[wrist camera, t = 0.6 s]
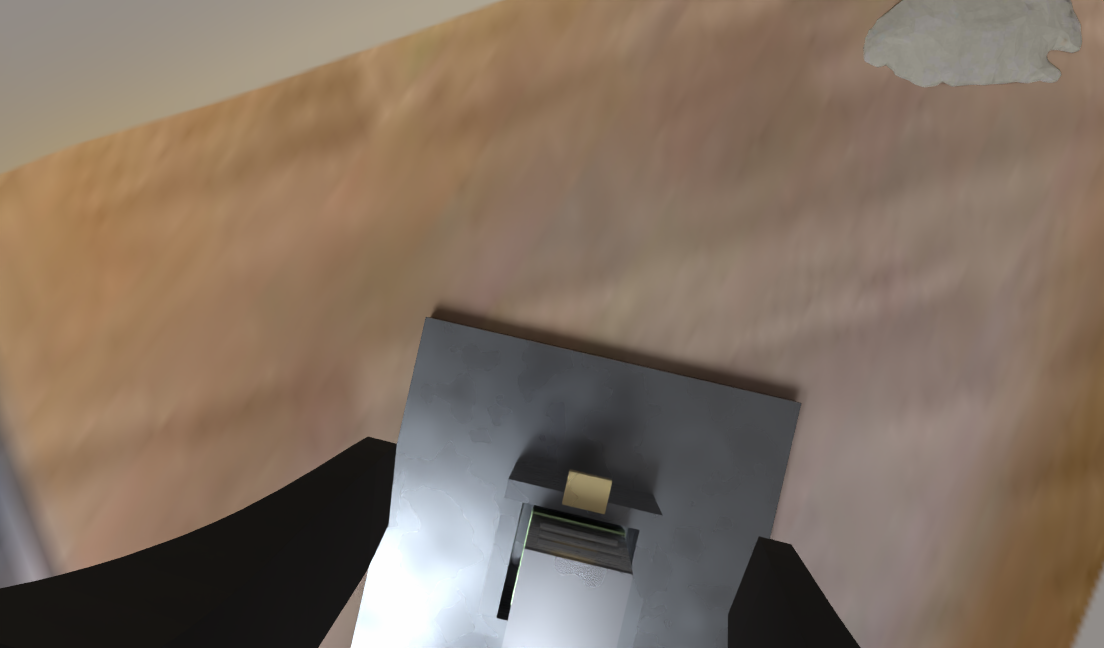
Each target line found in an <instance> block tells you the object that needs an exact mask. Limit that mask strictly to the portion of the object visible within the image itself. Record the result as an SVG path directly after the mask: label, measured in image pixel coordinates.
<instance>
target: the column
mask: <svg viewBox="0 0 1104 648" xmlns="http://www.w3.org/2000/svg"><path fill="white" fill-rule="evenodd" d="M625 534H626V533H625V529H623V527H622V526H621V525H617V524H612V523H608V522H604V521H600V520H596V519H592V518H587V517H583V516H579V515H575V514H571V513H566V512H562V511H558V510H554V509H550V508H546V507H541V506H537V505H534V507H533V508H532V512H531V517H530V521H529V526H528V530H527V534H526V539H525V543H524V547H523V552H522V556H521V561H520V565H519V569H518V574H517V578H516V582H515V587H514V591H513V596H512V600H511V609H510V613H509V617H508V622H507V626H506V630H505V635H504V639H503V644H502V648H617V644H618V639H619V635H620V631H621V626H622V622H623V618H624V613H625V609H626V605H627V600H628V596H629V592H630V587H631V583H632V579H633V571H632V567H631V562H630V558H629V553H628V549H627V545H626V540H625Z"/></svg>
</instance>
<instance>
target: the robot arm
mask: <svg viewBox="0 0 1104 648" xmlns="http://www.w3.org/2000/svg"><path fill="white" fill-rule="evenodd" d="M396 448H397V444H395V443H391V442H387V441H383V440H379V439H375V438H371V437H366V438H365V439H363V440H361V441H360V442H358V443H356V444H354V445H353V446H351V447H349V448H348V449H346V450H345V451H343V452H341V453H340V454H338V455H337V456H335V457H333V458H332V459H330V460H329V461H327V462H325V463H324V464H322V465H320V466H319V467H317V468H316V469H314V470H312V471H311V472H309V473H307V474H305V475H304V476H302V477H300V478H299V479H297V480H295V481H293V482H292V483H290V484H288V485H287V486H285V487H283V488H281V489H280V490H278V491H276V492H274V493H272V494H270V495H268V496H267V497H265V498H263V499H261V500H259V501H257V502H255V503H253V504H251V505H249V506H248V507H246V508H244V509H242V510H240V511H238V512H236V513H234V514H231V515H229V516H227V517H225V518H223V519H221V520H218V521H216V522H214V523H212V524H209V525H207V526H204V527H202V528H200V529H197V530H195V531H193V532H190V533H188V534H185V535H183V536H180V537H178V538H175V539H172V540H169V541H167V542H164V543H161V544H158V545H155V546H152V547H150V548H147V549H144V550H141V551H138V552H136V553H133V554H130V555H127V556H124V557H121V558H118V559H115V560H111V561H108V562H105V563H101V564H98V565H94V566H91V567H88V568H84V569H80V570H77V571H73V572H69V573H65V574H62V575H58V576H54V577H50V578H46V579H42V580H38V581H33V582H29V583H24V584H19V585H15V586H10V587H5V588H1V589H0V648H318V647H319V645H320V644H321V642H322V641H323V639H324V638H325V636H326V634H327V633H328V631H329V630H330V628H331V627H332V625H333V623H334V622H335V620H336V619H337V617H338V616H339V614H340V612H341V611H342V609H343V608H344V606H345V605H346V603H347V601H348V600H349V598H350V597H351V595H352V594H353V592H354V590H355V589H356V587H357V586H358V584H359V582H360V581H361V579H362V578H363V576H364V574H365V573H366V571H367V569H368V567H369V565H370V563H371V561H372V559H373V557H374V555H375V553H376V551H377V549H378V547H379V545H380V542H381V540H382V538H383V536H384V534H385V532H386V529H387V527H388V525H389V517H390V507H391V497H392V487H393V477H394V468H395V458H396ZM728 648H860V646H859V645H858V644H857V642H856V641H855V639H854V638H853V637H852V635H851V634H850V632H849V631H848V630H847V628H846V627H845V625H844V624H843V622H842V621H841V619H840V618H839V616H838V615H837V614H836V612H835V611H834V609H833V608H832V606H831V605H830V603H829V602H828V600H827V599H826V597H825V596H824V594H823V592H822V591H821V589H820V588H819V586H818V585H817V583H816V582H815V580H814V579H813V577H812V576H811V574H810V572H809V571H808V569H807V568H806V566H805V565H804V563H803V562H802V560H801V559H800V557H799V556H798V554H797V552H796V551H795V550H794V548H793V547H792V545H791V544H787V543H783V542H779V541H776V540H772V539H768V538H764V537H760V536H759V537H758V540H757V542H756V545H755V547H754V550H753V552H752V555H751V557H750V560H749V562H748V565H747V567H746V570H745V572H744V575H743V578H742V580H741V583H740V585H739V588H738V590H737V593H736V595H735V598H734V600H733V603H732V605H731V608H730V610H729V613H728Z"/></svg>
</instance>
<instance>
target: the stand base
mask: <svg viewBox="0 0 1104 648" xmlns="http://www.w3.org/2000/svg"><path fill="white" fill-rule="evenodd" d="M800 406H801V403H799V402H796V401H793V400H788V399H784V398H780V397H775V396H771V395H767V394H762V393H758V392H754V391H749V390H745V389H741V388H736V387H732V386H728V385H723V384H719V383H715V382H710V381H706V380H701V379H697V378H693V377H688V376H684V375H680V374H675V373H671V372H667V371H662V370H658V369H654V368H649V367H645V366H641V365H636V364H632V363H628V362H623V361H619V360H615V359H610V358H606V357H601V356H597V355H593V354H588V353H584V352H580V351H575V350H571V349H567V348H562V347H558V346H554V345H549V344H545V343H541V342H536V341H532V340H528V339H523V338H519V337H515V336H510V335H506V334H501V333H497V332H493V331H488V330H484V329H480V328H475V327H471V326H467V325H462V324H458V323H454V322H449V321H445V320H441V319H436V318H432V317H426V319H425V323H424V327H423V332H422V336H421V341H420V345H419V349H418V354H417V358H416V363H415V367H414V372H413V376H412V380H411V385H410V389H409V394H408V398H407V402H406V407H405V411H404V416H403V420H402V424H401V429H400V433H399V438H398V442H397V448H396V458H395V468H394V477H393V487H392V497H391V507H390V517H389V525H388V527H387V529H386V532H385V534H384V536H383V538H382V540H381V542H380V545H379V547H378V549H377V551H376V553H375V555H374V557H373V559H372V561H371V563H370V566H369V570H368V575H367V579H366V583H365V588H364V592H363V597H362V601H361V605H360V610H359V614H358V619H357V623H356V628H355V632H354V636H353V641H352V645H351V648H502V644H503V639H504V635H505V630H506V626H507V622H508V617H509V613H510V609H511V600H512V596H513V591H514V587H515V582H516V578H517V574H518V569H519V565H520V561H521V556H522V552H523V547H524V543H525V539H526V534H527V530H528V526H529V521H530V517H531V512H532V508H533V507H534V505H537V506H541V507H546V508H550V509H554V510H558V511H562V512H566V513H571V514H575V515H579V516H583V517H587V518H592V519H596V520H600V521H604V522H608V523H612V524H617V525H621V526H622V527H623V529H625V533H626V534H625V540H626V545H627V549H628V553H629V558H630V562H631V567H632V571H633V579H632V583H631V587H630V592H629V596H628V600H627V605H626V609H625V613H624V618H623V622H622V626H621V631H620V635H619V639H618V644H617V648H728V613H729V610H730V608H731V605H732V603H733V600H734V598H735V595H736V593H737V590H738V588H739V585H740V583H741V580H742V578H743V575H744V572H745V570H746V567H747V565H748V562H749V560H750V557H751V555H752V552H753V550H754V547H755V545H756V542H757V540H758V537H759V536H760V537H764V538H768V539H770V535H771V531H772V527H773V522H774V518H775V514H776V510H777V505H778V501H779V497H780V492H781V488H782V484H783V479H784V475H785V471H786V466H787V462H788V458H789V454H790V449H791V445H792V441H793V436H794V432H795V428H796V423H797V419H798V415H799V410H800Z"/></svg>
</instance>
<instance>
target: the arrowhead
mask: <svg viewBox="0 0 1104 648" xmlns="http://www.w3.org/2000/svg"><path fill="white" fill-rule="evenodd" d="M900 7H901V8H900ZM990 28H991V29H990ZM996 33H997V34H996ZM1072 36H1077V37H1072ZM1081 44H1082V37H1081V24H1080V22H1079V20H1078V18H1077V16H1076V15H1075V13H1074V11H1073V7H1072V2H1071V1H1070V0H902V1H901V2H900V3H898V4H897V5H895V6H894V7H893V8H892V9H891V10H890V11H889V12H887V13H886V14H884V15H883V16H882V17H880V18H879V19H878V20H877V22H876V23H875V25H874V26H873V28H872V29H870V30H869V32H868V35H867V36H866V38H865V44H864V48H863V49H864V60H865V62H867V63H869V64H871V65H873V66H876V67H882V66H885V65H887V66H888V67H889V68H890V69H891V70H893V71H894V74H895V75H897V76H898V77H900V78H903V79H906V80H909V81H911V82H912V83H913V84H915V85H918V86H921V87H931V86H937V85H938V84H940V83H941V82H944V83H946V84H948V85H950V86H952V87H954V86H962V85H989V84H1006V83H1012V82H1019V83H1031V82H1036V81H1043V82H1049V83H1052V82H1056V81H1057V80H1058V79H1059V77H1060V76H1061V72H1060V70H1059V69H1057V68H1056V67H1055V66H1054V65H1052V64H1051V63H1050V62H1049V61H1048V60H1047V54H1048V52H1049V51H1050V50H1060V51H1065V52H1070V53H1073V52H1077V51H1079V49H1080V47H1081ZM1021 46H1022V47H1021ZM1015 47H1016V49H1015ZM972 65H974V66H972Z"/></svg>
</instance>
